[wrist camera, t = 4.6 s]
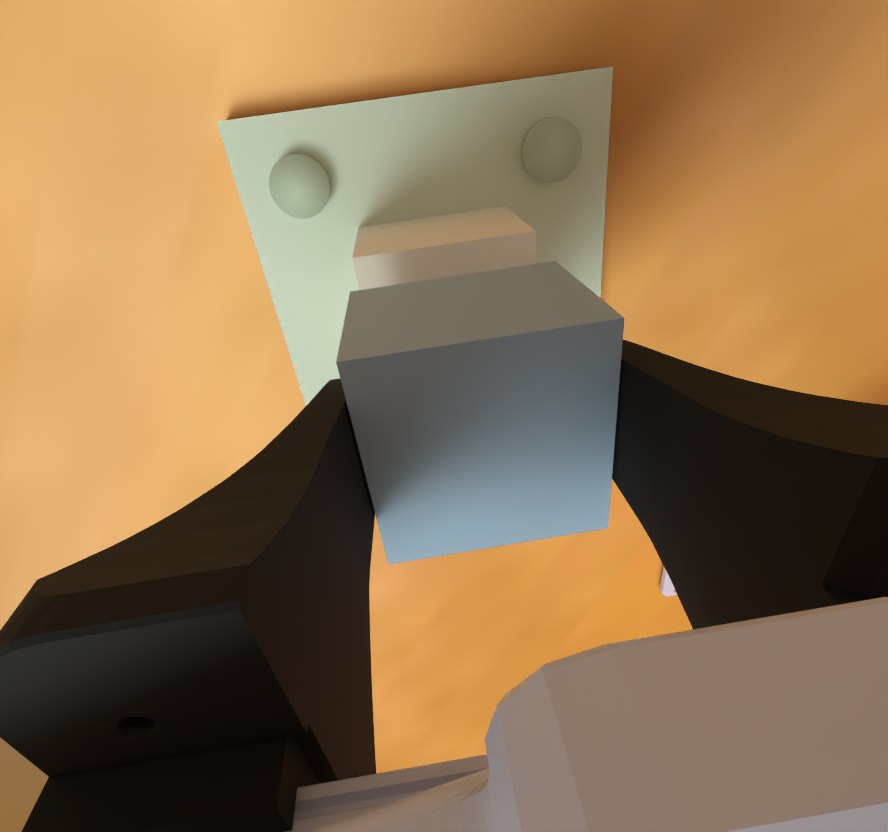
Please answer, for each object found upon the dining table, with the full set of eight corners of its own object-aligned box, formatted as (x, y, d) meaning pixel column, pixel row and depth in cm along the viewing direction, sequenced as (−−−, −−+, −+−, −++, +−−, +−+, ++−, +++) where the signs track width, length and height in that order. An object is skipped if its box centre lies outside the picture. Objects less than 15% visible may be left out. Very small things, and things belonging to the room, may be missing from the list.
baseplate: (600, 68, 16) (621, 65, 14) (586, 392, 22) (599, 410, 21) (225, 120, 15) (210, 122, 14) (321, 433, 22) (317, 455, 21)
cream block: (505, 206, 17) (535, 231, 13) (511, 341, 19) (538, 390, 16) (358, 227, 17) (352, 258, 13) (385, 360, 19) (385, 414, 16)
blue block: (555, 261, 12) (624, 317, 8) (555, 431, 15) (608, 527, 11) (350, 291, 12) (336, 361, 8) (387, 458, 14) (388, 564, 11)
